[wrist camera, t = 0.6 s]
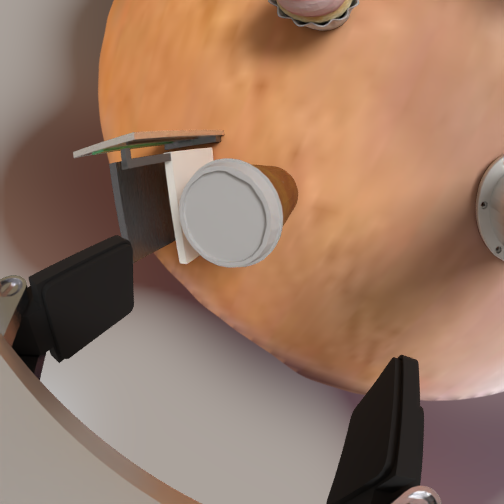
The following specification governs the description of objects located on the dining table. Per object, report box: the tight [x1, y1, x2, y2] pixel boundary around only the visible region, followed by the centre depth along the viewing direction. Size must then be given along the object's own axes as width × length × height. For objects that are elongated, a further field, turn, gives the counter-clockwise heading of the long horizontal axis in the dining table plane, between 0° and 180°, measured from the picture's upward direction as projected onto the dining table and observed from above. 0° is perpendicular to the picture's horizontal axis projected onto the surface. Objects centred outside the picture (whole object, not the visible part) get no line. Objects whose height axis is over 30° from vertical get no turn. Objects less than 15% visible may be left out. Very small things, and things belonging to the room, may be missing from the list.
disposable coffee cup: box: [179, 159, 298, 267], centre depth 29 cm, size 10×10×12 cm
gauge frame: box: [73, 130, 224, 263], centre depth 32 cm, size 10×15×15 cm, turn 5°
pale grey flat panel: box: [121, 147, 213, 264], centre depth 30 cm, size 1×13×14 cm, turn 5°
